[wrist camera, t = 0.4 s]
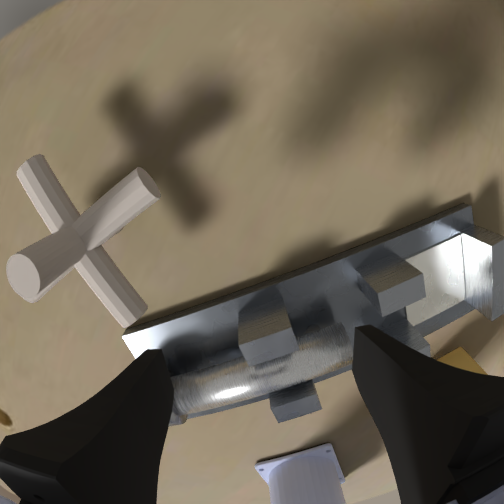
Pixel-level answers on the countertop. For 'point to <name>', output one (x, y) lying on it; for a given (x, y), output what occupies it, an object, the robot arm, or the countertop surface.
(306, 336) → the shaft
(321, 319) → the metal support fixture
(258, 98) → the countertop surface
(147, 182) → the white crossed rods piece
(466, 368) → the block
